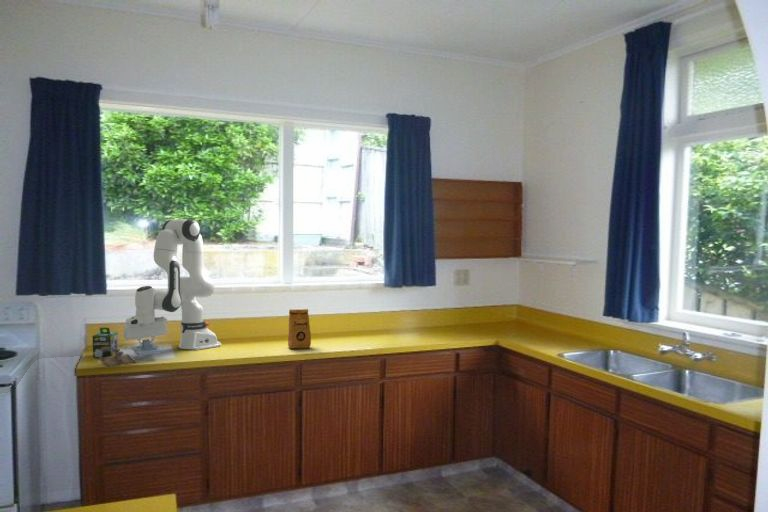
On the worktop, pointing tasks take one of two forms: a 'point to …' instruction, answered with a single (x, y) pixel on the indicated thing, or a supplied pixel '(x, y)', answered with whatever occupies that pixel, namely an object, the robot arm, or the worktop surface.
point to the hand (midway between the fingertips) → (146, 345)
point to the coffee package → (299, 329)
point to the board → (117, 358)
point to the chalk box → (105, 343)
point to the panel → (148, 351)
